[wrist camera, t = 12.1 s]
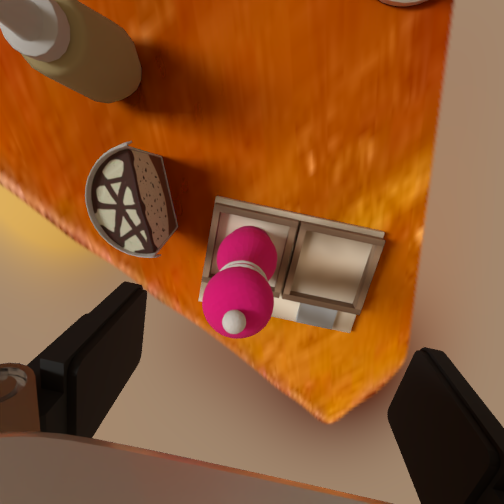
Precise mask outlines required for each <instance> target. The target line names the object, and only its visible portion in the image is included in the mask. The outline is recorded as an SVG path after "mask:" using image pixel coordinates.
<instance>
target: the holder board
mask: <svg viewBox="0 0 504 504" xmlns="http://www.w3.org/2000/svg"><path fill="white" fill-rule="evenodd" d="M243 226H255V227H258V228H260V229H262V230H263V231H265V232H266V233H267V234H268V236H269V237H270V239H271V241H272V242H273V244H274V246H275V248H276V251H277V265H276V270H275V272H274V274H273V276H272V277H271V279H270V280H269V281H268V283H269V285H270V286H271V289H272V292H273V296H274V307H273V312H272V315H271V316H272V317H277V318H281V319H286V320H291V321H296V322H299V323H304V324H308V325H313V326H318V327H322V328H327V329H333V330H338V331H343V332H347V333H350V332H351V329H352V326H353V323H354V320H355V317H356V315H360V312H361V309H362V307H363V304H364V301H365V298H366V295H367V292H368V289H369V287H370V284H371V281H372V278H373V275H374V272H375V270H376V267H377V264H378V261H379V258H380V255H381V252H382V250H383V247H384V244H385V240H384V239H383V237H384V234H385V233H384V232H383V231H380V230H375V229H371V228H366V227H361V226H357V225H352V224H347V223H343V222H338V221H333V220H329V219H324V218H319V217H315V216H310V215H305V214H301V213H296V212H291V211H287V210H282V209H277V208H273V207H268V206H263V205H259V204H254V203H249V202H245V201H240V200H235V199H231V198H226V197H221V196H216V199H215V204H214V210H213V216H212V222H211V228H210V234H209V240H208V246H207V252H206V258H205V264H204V270H203V276H202V283H201V289H200V295H199V301H201V302H202V299H203V293H204V290H205V288H206V286H207V284H208V282H209V281H210V279H211V278H212V277H213V276H214V275H215V274H217V273H218V272H219V269H218V267H217V252H218V249H219V246H220V244H221V242H222V241H223V240H224V238H225V237H226V236H228V235H229V234H230V233H232V232H233V231H234V230H236V229H238V228H240V227H243Z"/></svg>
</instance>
